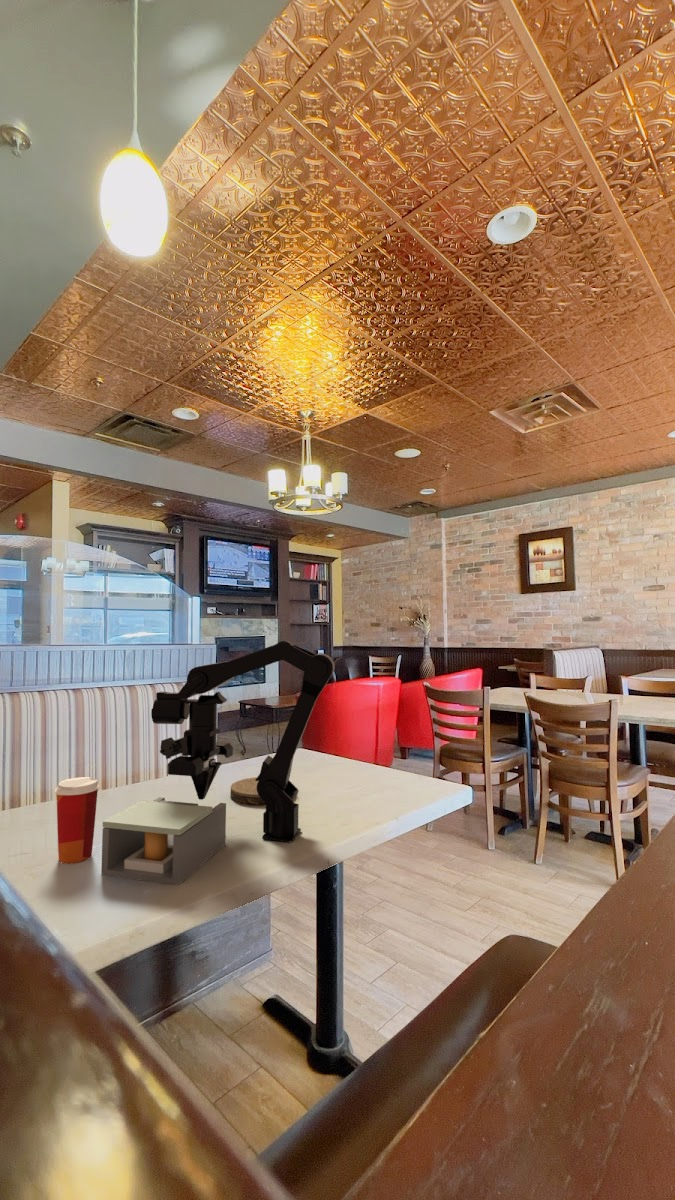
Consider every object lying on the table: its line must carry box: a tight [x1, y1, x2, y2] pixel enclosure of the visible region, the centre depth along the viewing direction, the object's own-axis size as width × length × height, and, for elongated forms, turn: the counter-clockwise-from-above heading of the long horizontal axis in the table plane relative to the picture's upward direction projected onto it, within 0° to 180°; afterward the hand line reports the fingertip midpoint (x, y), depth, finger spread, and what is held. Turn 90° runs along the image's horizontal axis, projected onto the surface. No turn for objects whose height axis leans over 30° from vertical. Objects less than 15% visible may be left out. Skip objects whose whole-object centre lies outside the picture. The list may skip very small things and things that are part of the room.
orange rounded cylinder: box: [144, 832, 168, 861], centre depth 97 cm, size 4×4×6 cm
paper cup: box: [54, 776, 100, 865], centre depth 102 cm, size 8×8×14 cm
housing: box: [100, 796, 227, 886], centre depth 101 cm, size 15×18×8 cm
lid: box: [102, 799, 213, 835], centre depth 99 cm, size 15×13×3 cm
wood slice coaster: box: [230, 776, 266, 807], centre depth 139 cm, size 16×16×3 cm
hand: (201, 798), depth 114 cm, fingers closed
